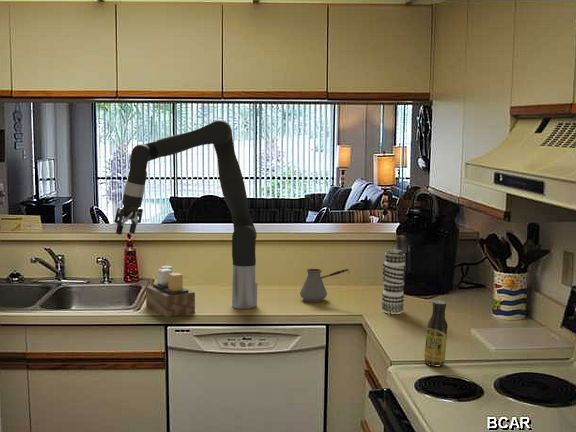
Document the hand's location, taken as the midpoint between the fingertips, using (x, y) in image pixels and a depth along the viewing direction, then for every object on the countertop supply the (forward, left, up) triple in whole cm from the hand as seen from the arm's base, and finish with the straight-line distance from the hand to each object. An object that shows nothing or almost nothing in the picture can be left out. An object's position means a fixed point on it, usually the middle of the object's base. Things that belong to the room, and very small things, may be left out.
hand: (125, 233), depth 265 cm
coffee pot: (-71, +39, -29) cm, 86 cm away
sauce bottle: (-52, +116, -29) cm, 131 cm away
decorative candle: (-84, +66, -29) cm, 111 cm away
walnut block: (-11, +17, -28) cm, 35 cm away
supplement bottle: (-19, -2, -29) cm, 35 cm away
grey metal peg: (-11, +13, -21) cm, 27 cm away
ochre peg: (-11, +22, -21) cm, 33 cm away
